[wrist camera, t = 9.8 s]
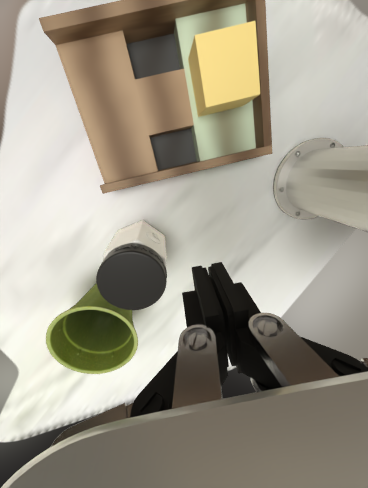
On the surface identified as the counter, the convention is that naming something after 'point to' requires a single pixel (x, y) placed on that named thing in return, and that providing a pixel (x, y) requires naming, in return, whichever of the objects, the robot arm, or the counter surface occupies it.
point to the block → (224, 68)
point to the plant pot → (92, 335)
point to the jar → (133, 267)
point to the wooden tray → (156, 87)
